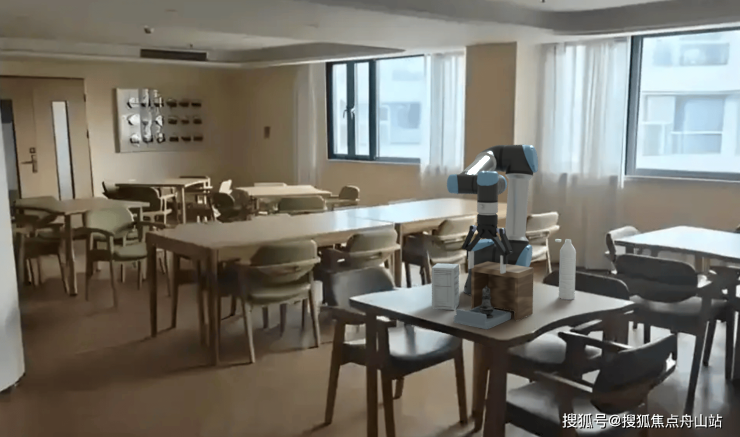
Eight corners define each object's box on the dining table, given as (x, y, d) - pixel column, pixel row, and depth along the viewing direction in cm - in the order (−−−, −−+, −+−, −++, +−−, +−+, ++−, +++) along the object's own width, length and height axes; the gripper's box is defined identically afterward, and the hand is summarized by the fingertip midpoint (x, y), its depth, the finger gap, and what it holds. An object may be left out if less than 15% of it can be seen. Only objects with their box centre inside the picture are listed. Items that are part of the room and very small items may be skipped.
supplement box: (459, 304, 267) (459, 263, 265) (454, 310, 258) (455, 268, 256) (436, 302, 270) (436, 262, 268) (431, 308, 261) (431, 267, 259)
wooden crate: (471, 311, 256) (471, 266, 254) (487, 305, 265) (487, 261, 263) (517, 320, 243) (518, 272, 241) (532, 313, 252) (533, 267, 250)
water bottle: (571, 295, 279) (572, 237, 276) (577, 299, 272) (579, 240, 269) (551, 296, 278) (552, 238, 275) (556, 300, 272) (558, 240, 268)
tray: (453, 322, 242) (454, 309, 241) (478, 312, 255) (478, 300, 254) (487, 329, 233) (487, 315, 232) (510, 318, 245) (511, 305, 245)
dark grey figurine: (491, 314, 249) (492, 283, 247) (495, 318, 243) (496, 286, 241) (476, 314, 248) (476, 283, 247) (480, 319, 242) (480, 287, 241)
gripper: (453, 212, 246) (452, 267, 248) (512, 217, 229) (511, 276, 232) (464, 210, 251) (463, 264, 254) (523, 215, 235) (522, 273, 238)
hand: (486, 270), depth 243 cm, fingers open, 13 cm apart
